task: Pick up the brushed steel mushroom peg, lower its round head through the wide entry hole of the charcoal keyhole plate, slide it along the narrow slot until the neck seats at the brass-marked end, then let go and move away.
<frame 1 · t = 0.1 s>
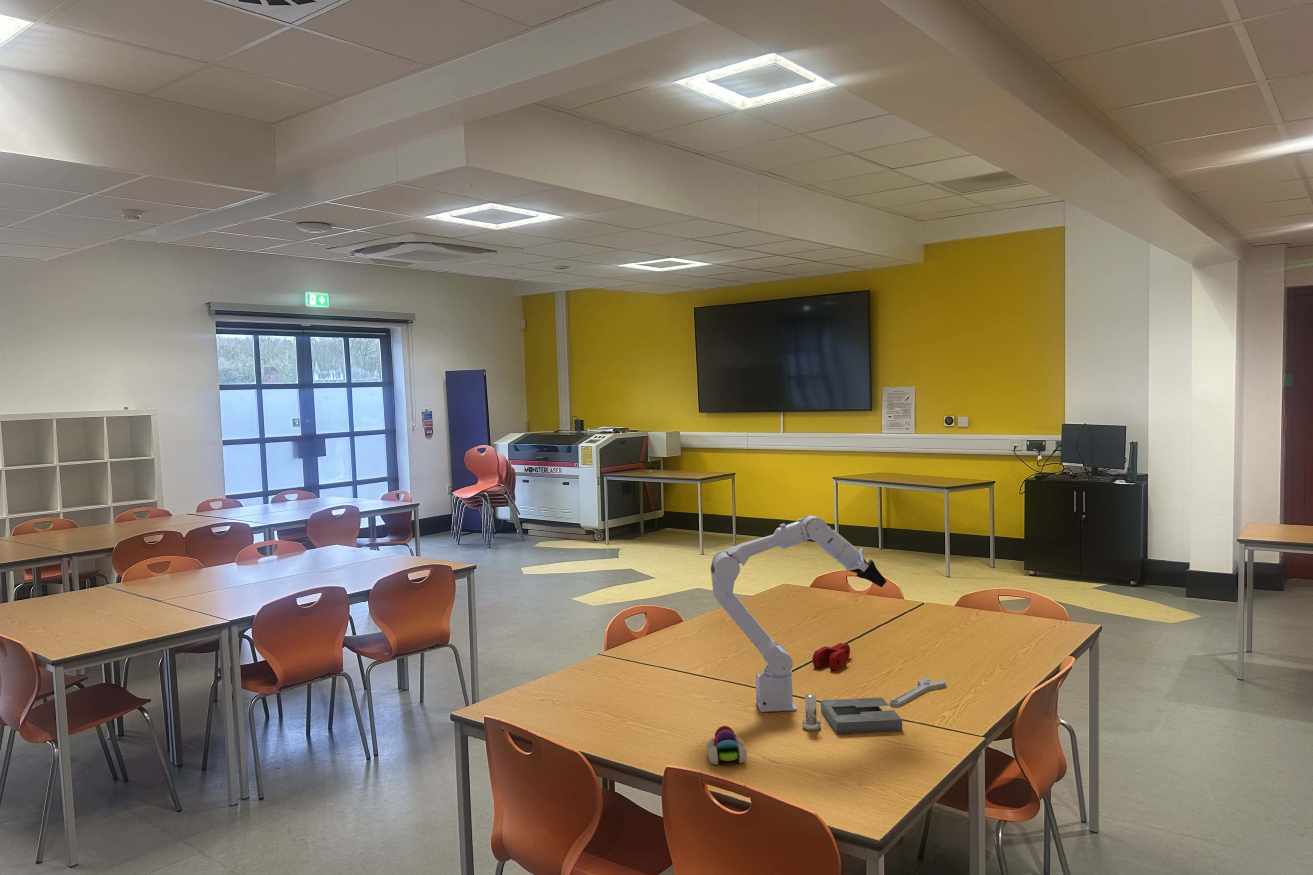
hand: (879, 581, 227), 32 cm above the table, tool tilted 50°, fingers open, 7 cm apart
toy car: (726, 760, 194), on the table
adjustable wrench: (914, 695, 234), on the table
keyhole plate: (860, 720, 215), on the table
steel peg: (811, 727, 211), on the table
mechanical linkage: (835, 664, 263), on the table
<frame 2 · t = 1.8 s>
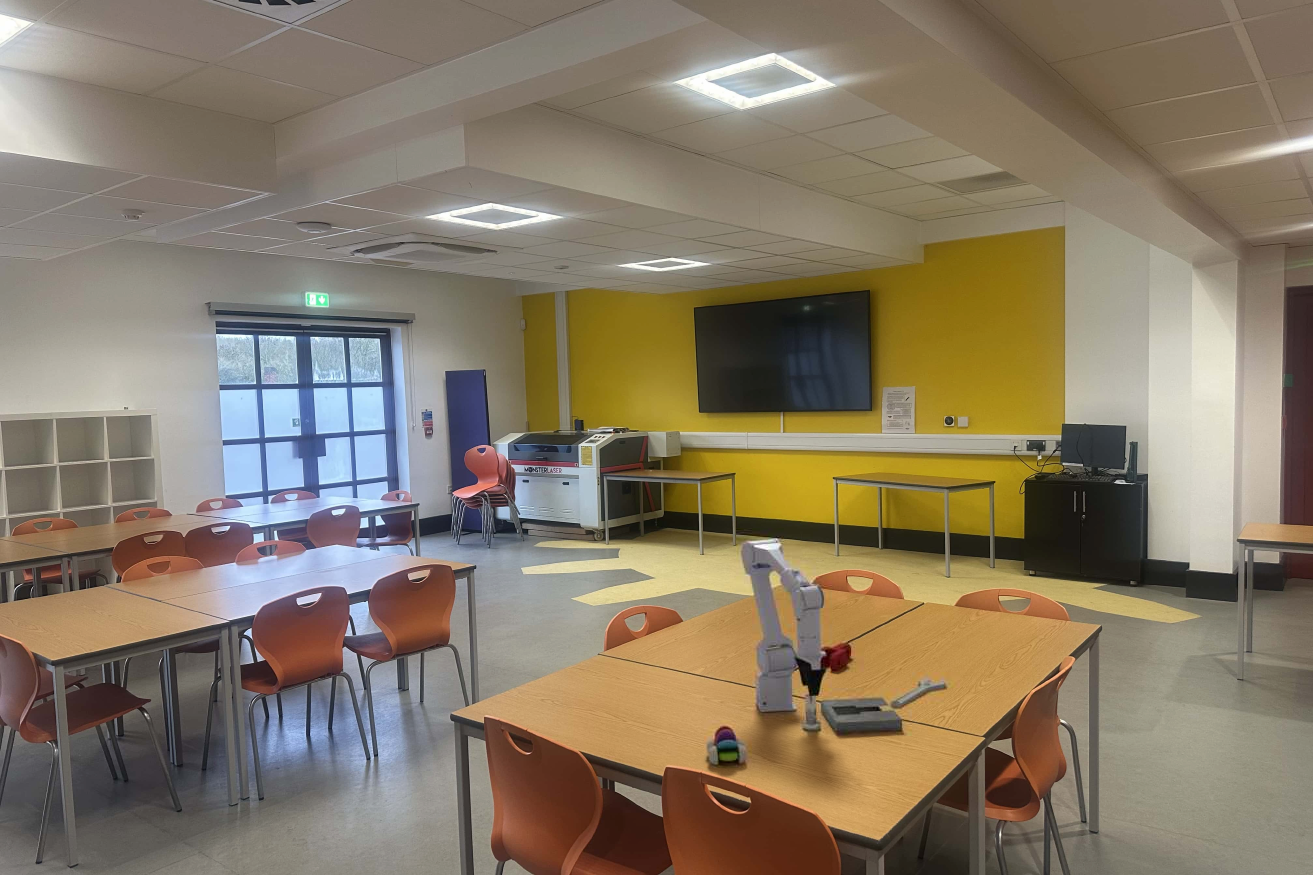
hand: (810, 690, 211), 9 cm above the table, tool pointing down, fingers open, 7 cm apart
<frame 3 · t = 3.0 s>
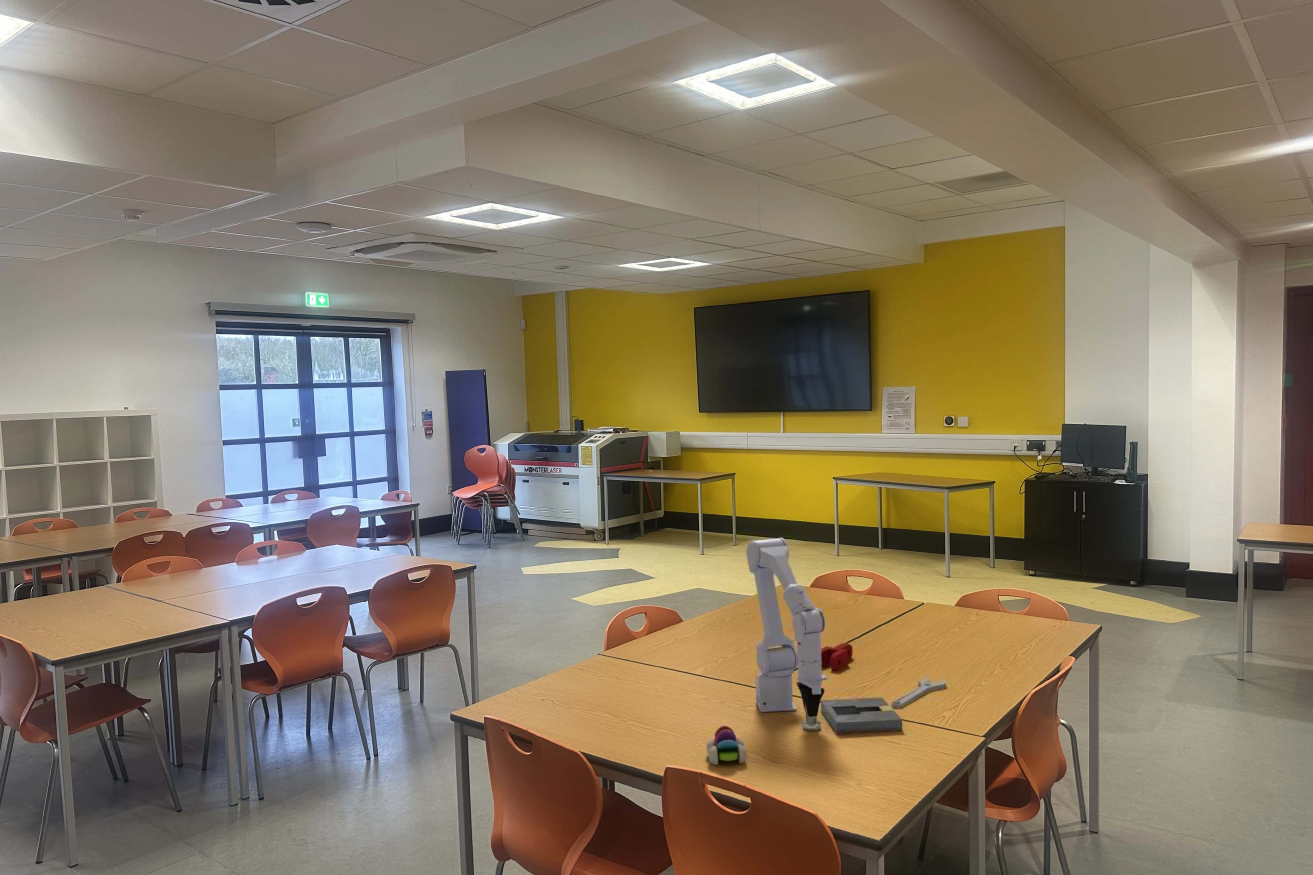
hand: (811, 713, 211), 3 cm above the table, tool pointing down, fingers closed on steel peg, 3 cm apart
steel peg: (811, 727, 211), on the table, touching gripper
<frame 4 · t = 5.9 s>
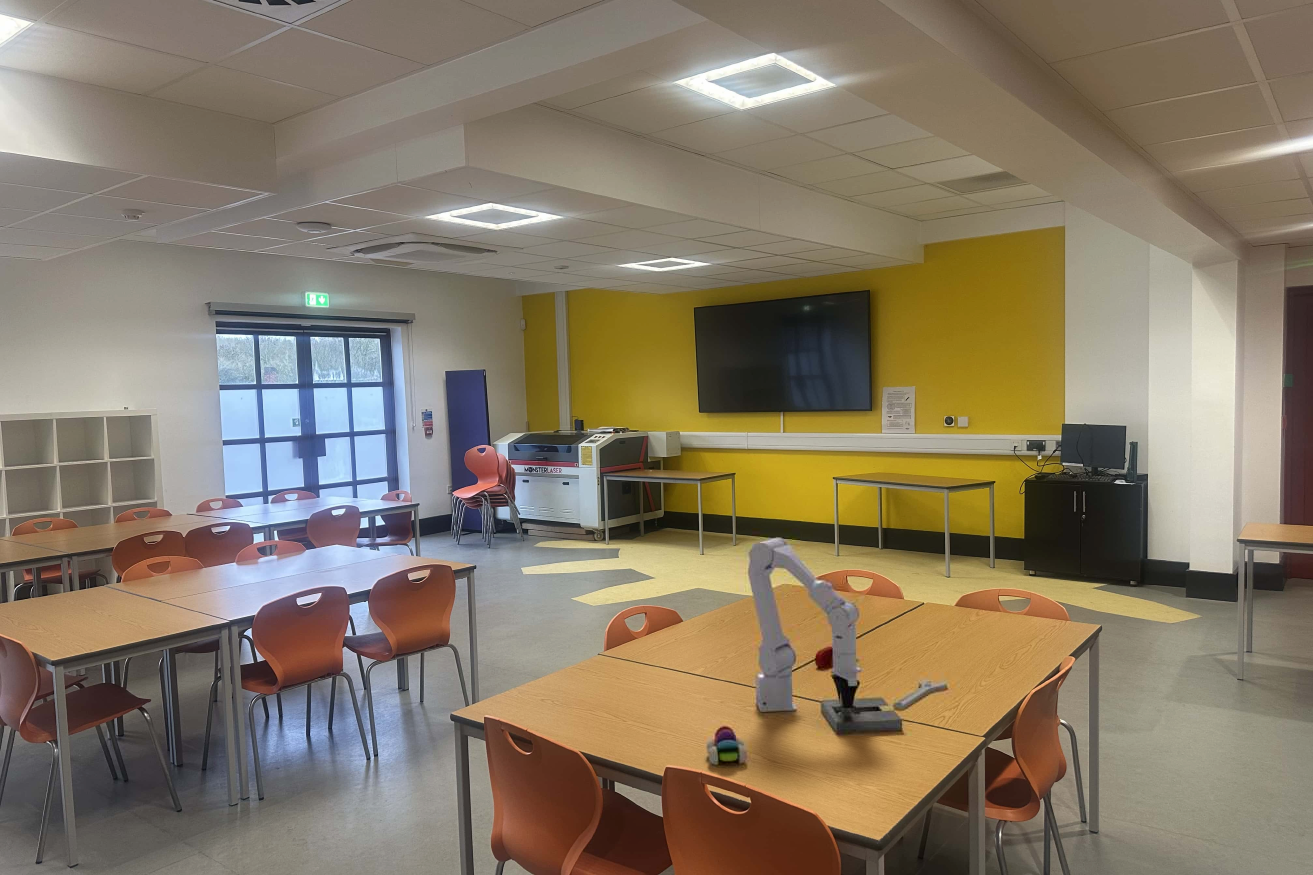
hand: (846, 705, 215), 4 cm above the table, tool pointing down, fingers closed on steel peg, 3 cm apart
steel peg: (846, 719, 215), point 1 cm above the table, touching gripper
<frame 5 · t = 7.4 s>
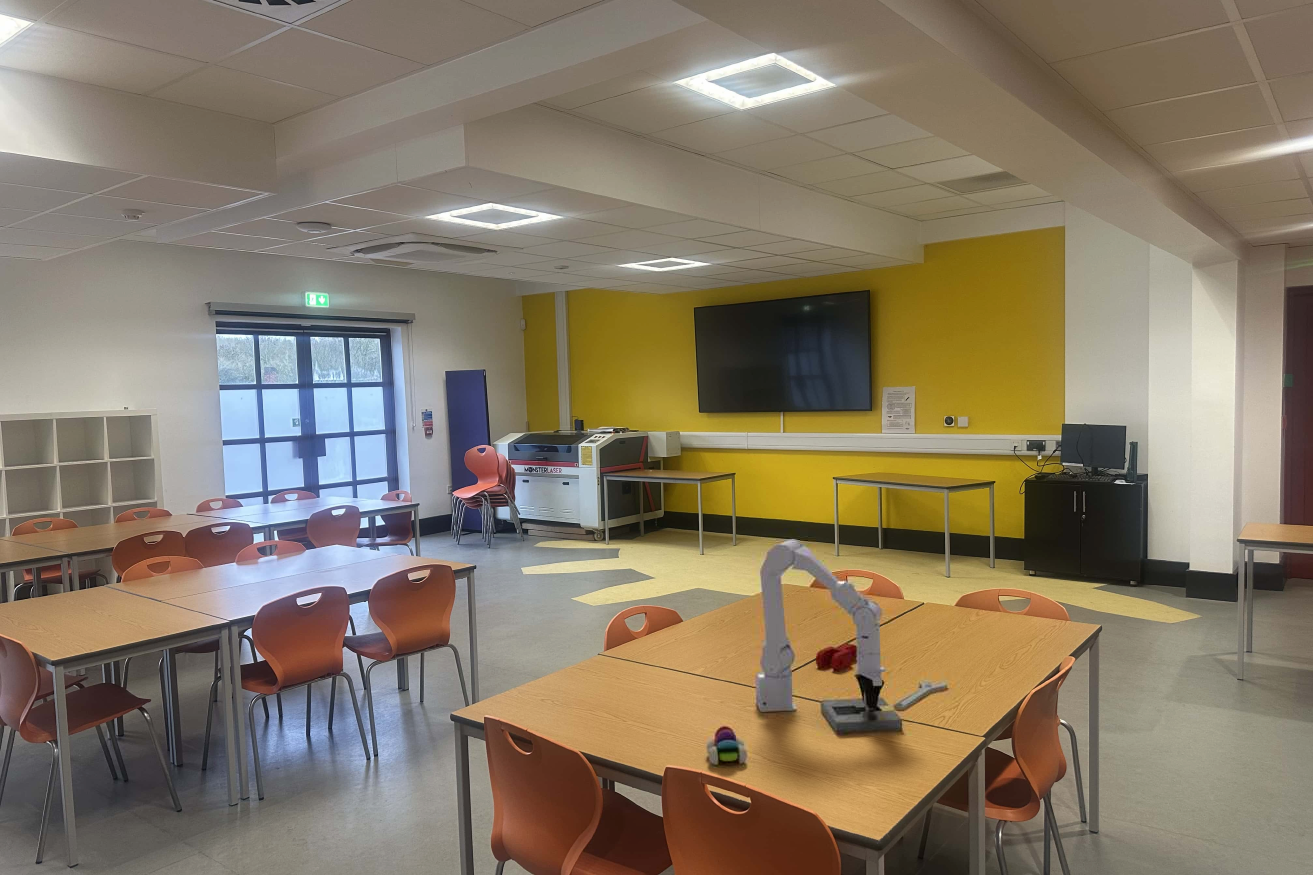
hand: (870, 705, 215), 4 cm above the table, tool pointing down, fingers closed on steel peg, 3 cm apart
steel peg: (870, 718, 215), resting in keyhole plate, touching gripper
when the fingers open (4 cm above the table, at t = 8.8 s): steel peg stays where it is, resting in keyhole plate.
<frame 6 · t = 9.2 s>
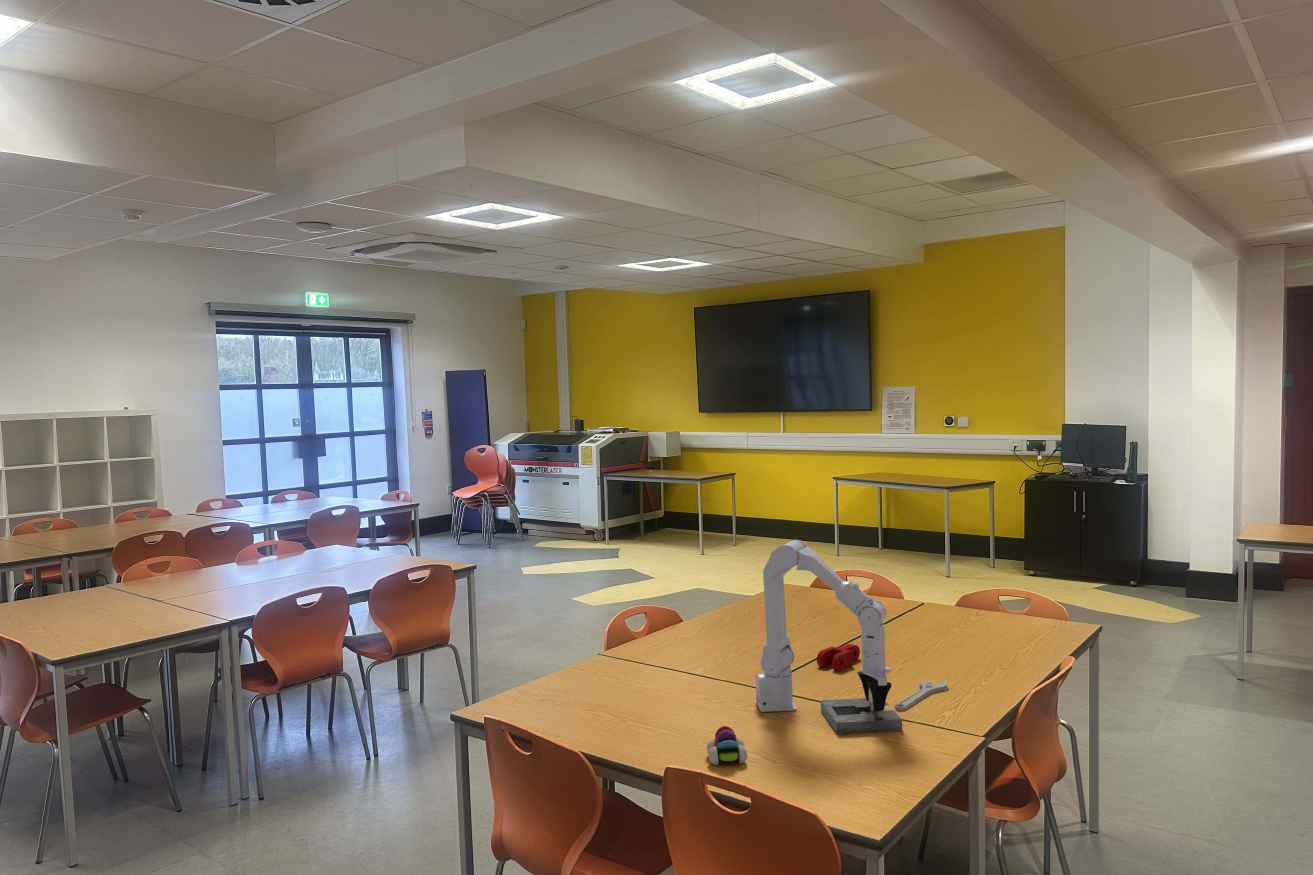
hand: (874, 705, 215), 4 cm above the table, tool pointing down, fingers open, 6 cm apart
steel peg: (875, 719, 215), resting in keyhole plate
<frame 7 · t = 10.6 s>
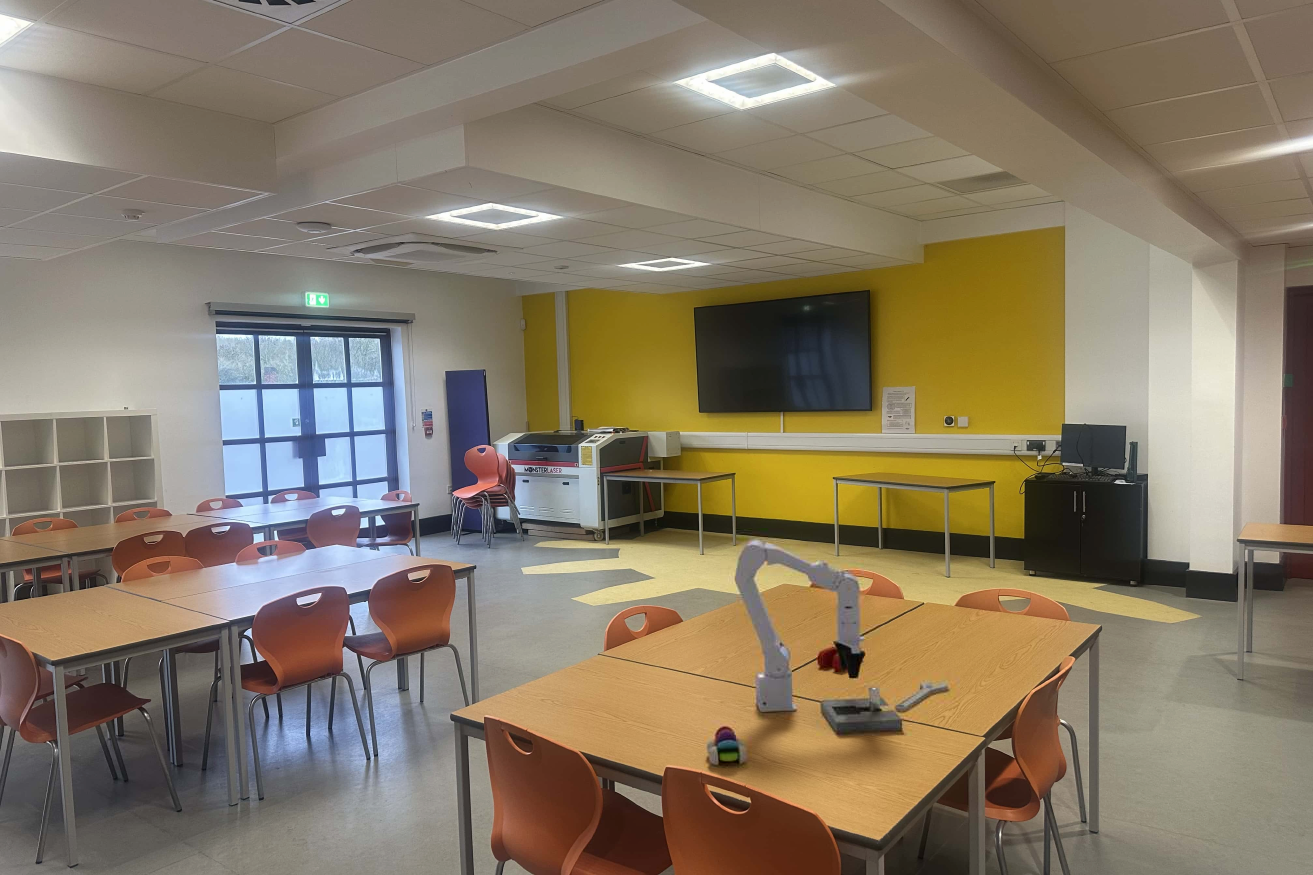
hand: (849, 673, 223), 9 cm above the table, tool pointing down, fingers open, 7 cm apart
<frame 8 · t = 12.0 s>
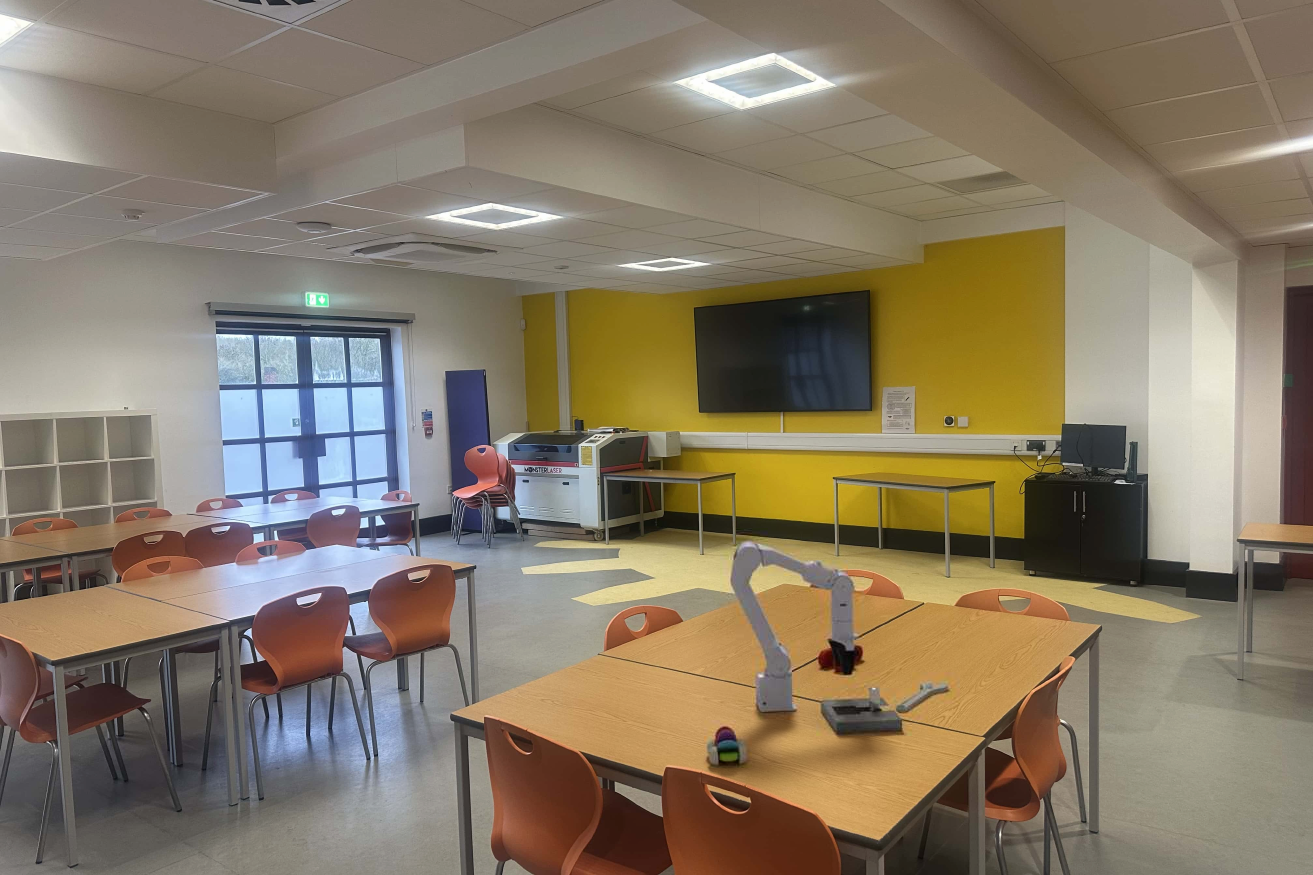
hand: (843, 670, 226), 9 cm above the table, tool pointing down, fingers open, 7 cm apart
at the end: steel peg 0.4 cm from the target spot on the keyhole plate, point 0.0 cm above the keyhole plate's base; steel peg tilted 0°; the gripper is holding nothing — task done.
